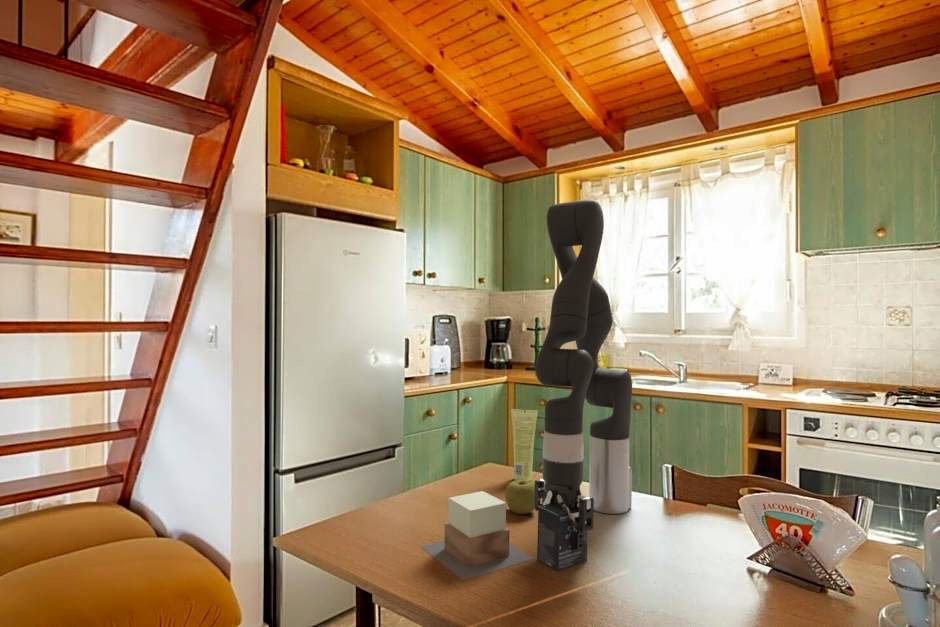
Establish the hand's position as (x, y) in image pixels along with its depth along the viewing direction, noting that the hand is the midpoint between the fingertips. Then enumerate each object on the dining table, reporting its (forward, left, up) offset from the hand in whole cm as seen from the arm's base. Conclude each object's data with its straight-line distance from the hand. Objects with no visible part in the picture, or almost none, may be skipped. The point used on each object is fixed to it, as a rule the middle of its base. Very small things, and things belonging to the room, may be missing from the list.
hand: (562, 543), depth 103 cm
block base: (+12, -11, -3) cm, 17 cm away
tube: (-25, -44, -4) cm, 51 cm away
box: (0, 0, -4) cm, 4 cm away
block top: (+12, -11, +2) cm, 16 cm away
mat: (+12, -11, -3) cm, 17 cm away
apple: (-9, -24, -4) cm, 26 cm away
